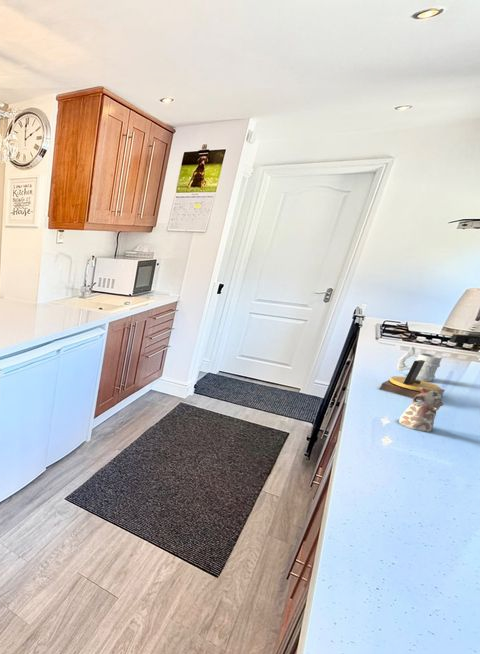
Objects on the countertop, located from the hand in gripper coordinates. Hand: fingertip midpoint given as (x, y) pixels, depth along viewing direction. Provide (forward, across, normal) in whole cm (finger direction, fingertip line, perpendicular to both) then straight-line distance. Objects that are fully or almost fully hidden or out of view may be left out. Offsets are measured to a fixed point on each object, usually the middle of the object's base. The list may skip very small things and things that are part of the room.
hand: (453, 338), depth 138 cm
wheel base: (+1, +4, -22) cm, 23 cm away
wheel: (+1, +4, -19) cm, 20 cm away
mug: (-17, +24, -22) cm, 37 cm away
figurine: (+26, -28, -22) cm, 44 cm away
